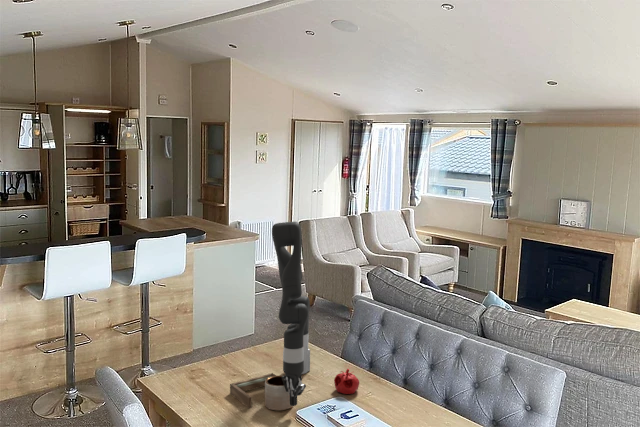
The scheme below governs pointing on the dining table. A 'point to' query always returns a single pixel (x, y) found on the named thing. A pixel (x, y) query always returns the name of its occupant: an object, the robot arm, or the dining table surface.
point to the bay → (247, 388)
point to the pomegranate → (346, 382)
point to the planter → (276, 394)
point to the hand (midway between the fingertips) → (293, 405)
